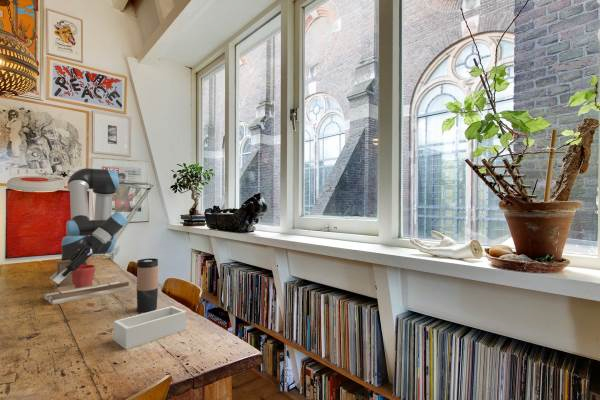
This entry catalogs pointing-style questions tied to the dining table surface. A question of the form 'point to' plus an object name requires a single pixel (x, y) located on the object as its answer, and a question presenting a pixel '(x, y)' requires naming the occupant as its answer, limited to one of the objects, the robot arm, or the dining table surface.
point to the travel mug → (147, 285)
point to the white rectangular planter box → (149, 326)
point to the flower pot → (83, 276)
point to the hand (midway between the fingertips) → (54, 281)
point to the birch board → (85, 292)
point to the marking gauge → (67, 281)
